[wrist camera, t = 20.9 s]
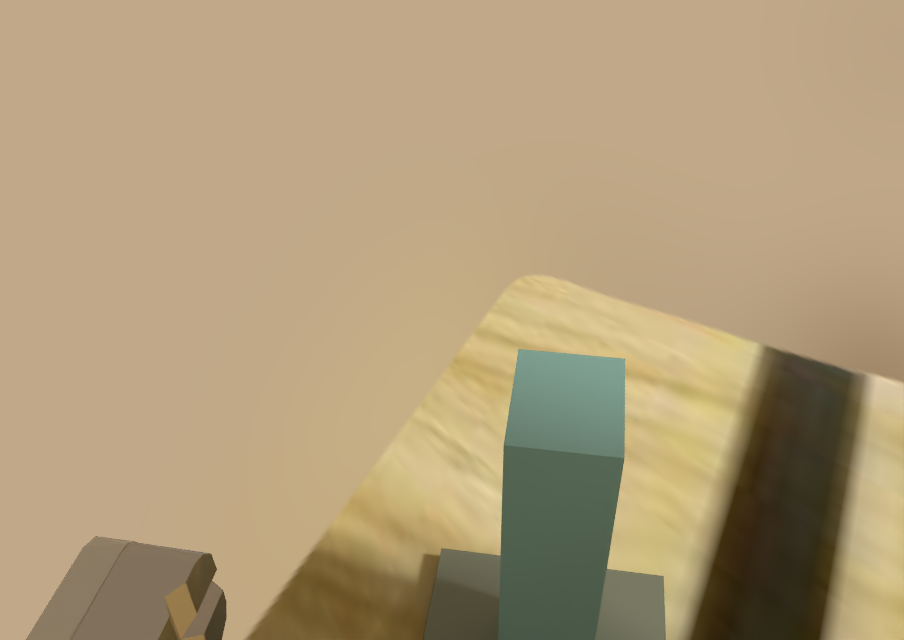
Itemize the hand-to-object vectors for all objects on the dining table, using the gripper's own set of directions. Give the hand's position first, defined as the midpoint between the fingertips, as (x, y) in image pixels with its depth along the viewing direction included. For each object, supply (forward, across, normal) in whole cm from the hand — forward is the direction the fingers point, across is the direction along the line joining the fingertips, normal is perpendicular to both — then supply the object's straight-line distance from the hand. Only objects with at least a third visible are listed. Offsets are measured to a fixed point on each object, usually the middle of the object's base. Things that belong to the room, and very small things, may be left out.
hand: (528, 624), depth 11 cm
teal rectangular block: (+16, 0, +30) cm, 34 cm away
